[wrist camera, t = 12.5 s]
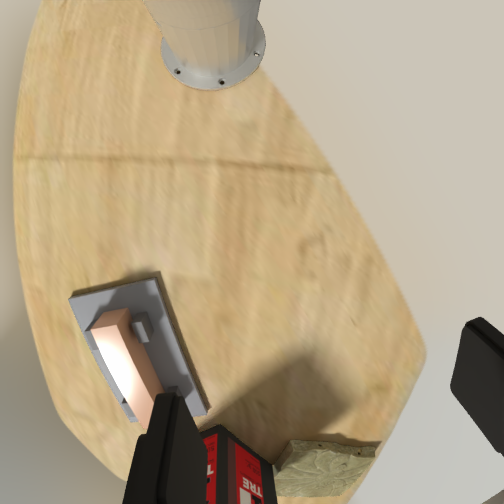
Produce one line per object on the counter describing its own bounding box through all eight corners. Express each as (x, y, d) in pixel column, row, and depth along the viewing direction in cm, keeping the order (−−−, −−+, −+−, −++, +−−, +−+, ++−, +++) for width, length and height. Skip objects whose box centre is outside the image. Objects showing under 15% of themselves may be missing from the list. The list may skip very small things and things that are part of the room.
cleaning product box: (181, 440, 49) (169, 532, 30) (220, 423, 48) (218, 523, 29) (235, 479, 53) (238, 559, 34) (272, 465, 52) (283, 549, 33)
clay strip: (103, 312, 40) (90, 329, 35) (128, 307, 40) (116, 324, 35) (149, 407, 45) (143, 429, 40) (172, 405, 45) (167, 427, 40)
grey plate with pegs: (70, 296, 40) (58, 308, 37) (155, 277, 40) (148, 288, 36) (132, 418, 47) (126, 434, 43) (207, 410, 47) (206, 427, 43)
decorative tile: (338, 487, 58) (341, 498, 54) (258, 485, 55) (259, 497, 52) (379, 440, 53) (384, 451, 50) (290, 435, 50) (293, 449, 47)
